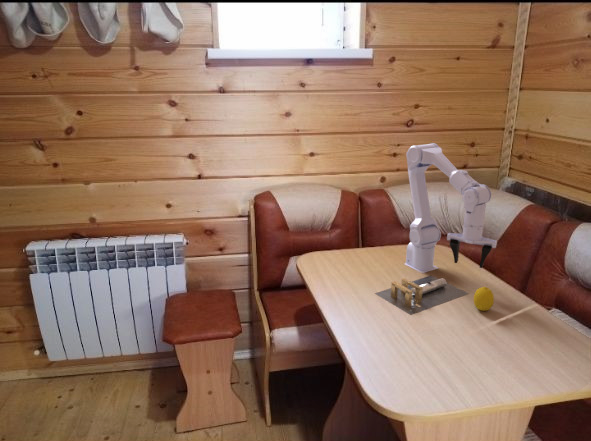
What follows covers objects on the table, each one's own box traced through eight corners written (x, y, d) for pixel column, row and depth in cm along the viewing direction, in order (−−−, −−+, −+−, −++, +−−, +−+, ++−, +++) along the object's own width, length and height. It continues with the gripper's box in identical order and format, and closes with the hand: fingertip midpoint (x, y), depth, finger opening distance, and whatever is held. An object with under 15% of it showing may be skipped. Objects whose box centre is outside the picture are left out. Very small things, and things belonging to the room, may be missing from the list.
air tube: (416, 297, 148) (417, 289, 147) (410, 294, 150) (410, 286, 149) (446, 287, 154) (446, 279, 153) (439, 284, 156) (440, 276, 155)
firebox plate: (374, 295, 151) (375, 279, 149) (431, 276, 163) (432, 262, 161) (410, 316, 138) (411, 299, 136) (468, 295, 150) (470, 279, 148)
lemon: (470, 313, 139) (473, 288, 137) (473, 305, 144) (476, 281, 141) (491, 317, 137) (494, 292, 134) (493, 309, 141) (496, 285, 139)
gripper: (446, 224, 147) (442, 264, 151) (496, 231, 140) (490, 273, 144) (451, 217, 153) (447, 256, 157) (499, 224, 146) (494, 265, 150)
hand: (468, 264), depth 151 cm, fingers open, 7 cm apart
